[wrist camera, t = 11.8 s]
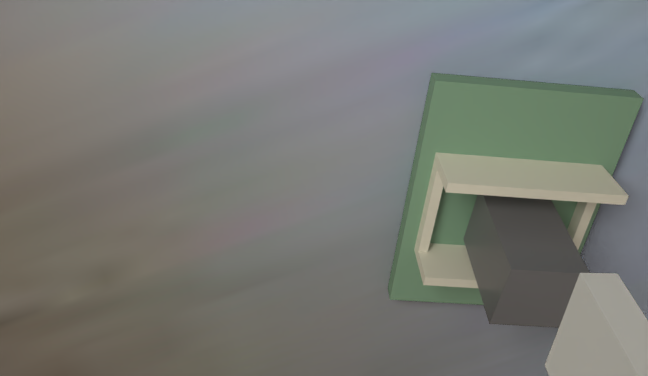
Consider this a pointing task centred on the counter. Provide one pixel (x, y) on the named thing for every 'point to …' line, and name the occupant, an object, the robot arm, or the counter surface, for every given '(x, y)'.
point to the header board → (503, 169)
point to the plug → (522, 260)
